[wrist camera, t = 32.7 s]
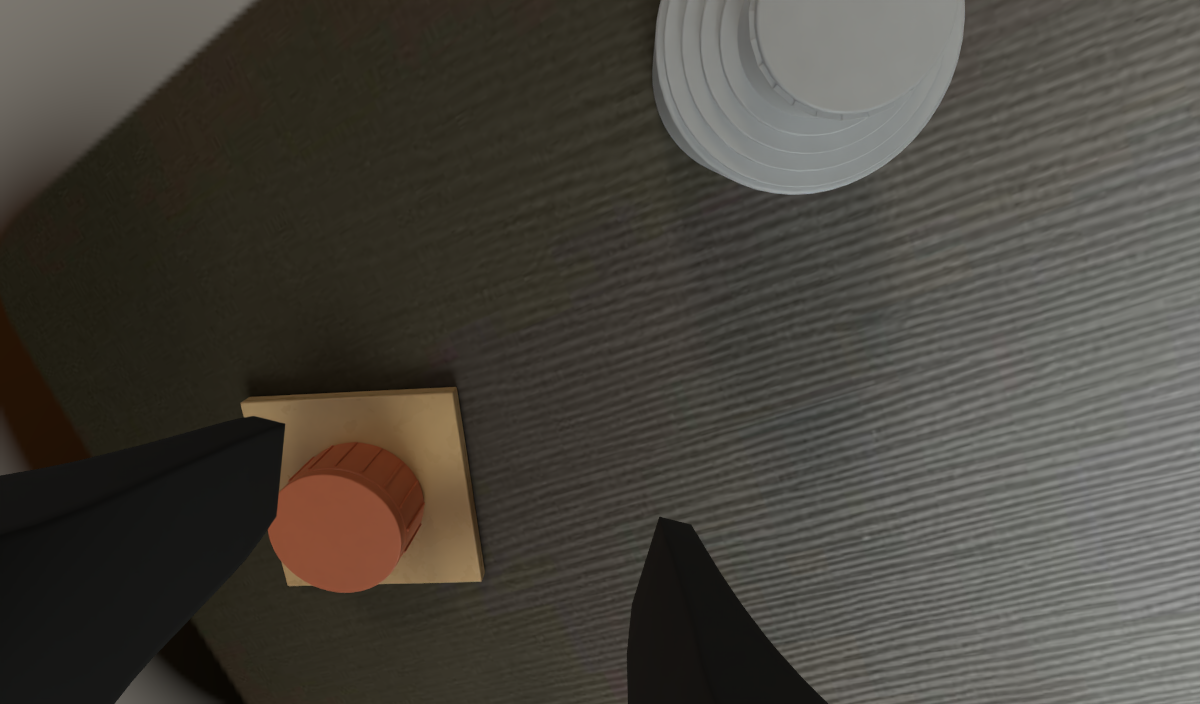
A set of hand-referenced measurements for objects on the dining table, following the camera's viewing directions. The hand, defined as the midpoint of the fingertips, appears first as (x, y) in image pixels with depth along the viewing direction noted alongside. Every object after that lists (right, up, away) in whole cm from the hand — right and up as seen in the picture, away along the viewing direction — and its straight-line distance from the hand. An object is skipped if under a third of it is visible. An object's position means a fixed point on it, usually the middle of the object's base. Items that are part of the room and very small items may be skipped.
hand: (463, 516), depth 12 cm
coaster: (-6, -2, +12) cm, 13 cm away
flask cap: (-6, -3, +10) cm, 12 cm away
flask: (+7, +11, +7) cm, 15 cm away
